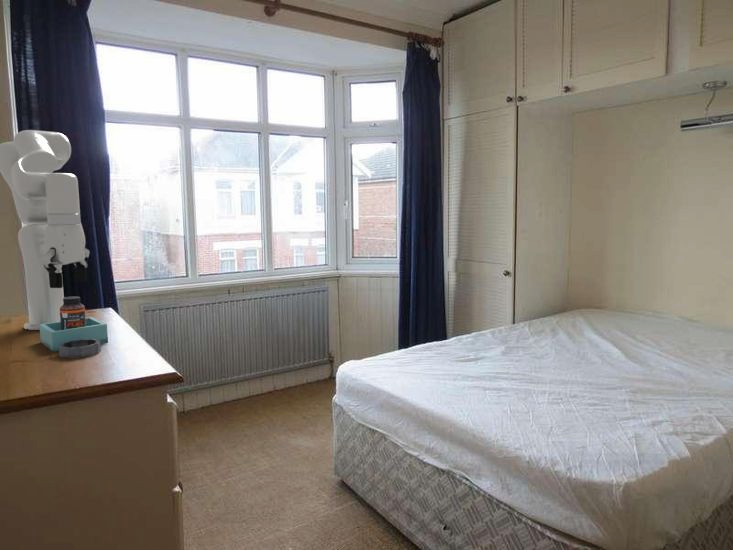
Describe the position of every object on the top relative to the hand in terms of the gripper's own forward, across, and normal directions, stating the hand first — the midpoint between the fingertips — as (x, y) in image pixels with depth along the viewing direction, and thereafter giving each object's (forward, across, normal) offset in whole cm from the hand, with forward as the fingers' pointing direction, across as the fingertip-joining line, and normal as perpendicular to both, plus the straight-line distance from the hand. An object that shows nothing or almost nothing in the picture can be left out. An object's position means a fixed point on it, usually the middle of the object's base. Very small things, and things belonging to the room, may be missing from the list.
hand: (69, 284), depth 136 cm
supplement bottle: (+15, 0, +1) cm, 15 cm away
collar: (+15, +11, +10) cm, 21 cm away
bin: (+16, +1, +1) cm, 16 cm away
